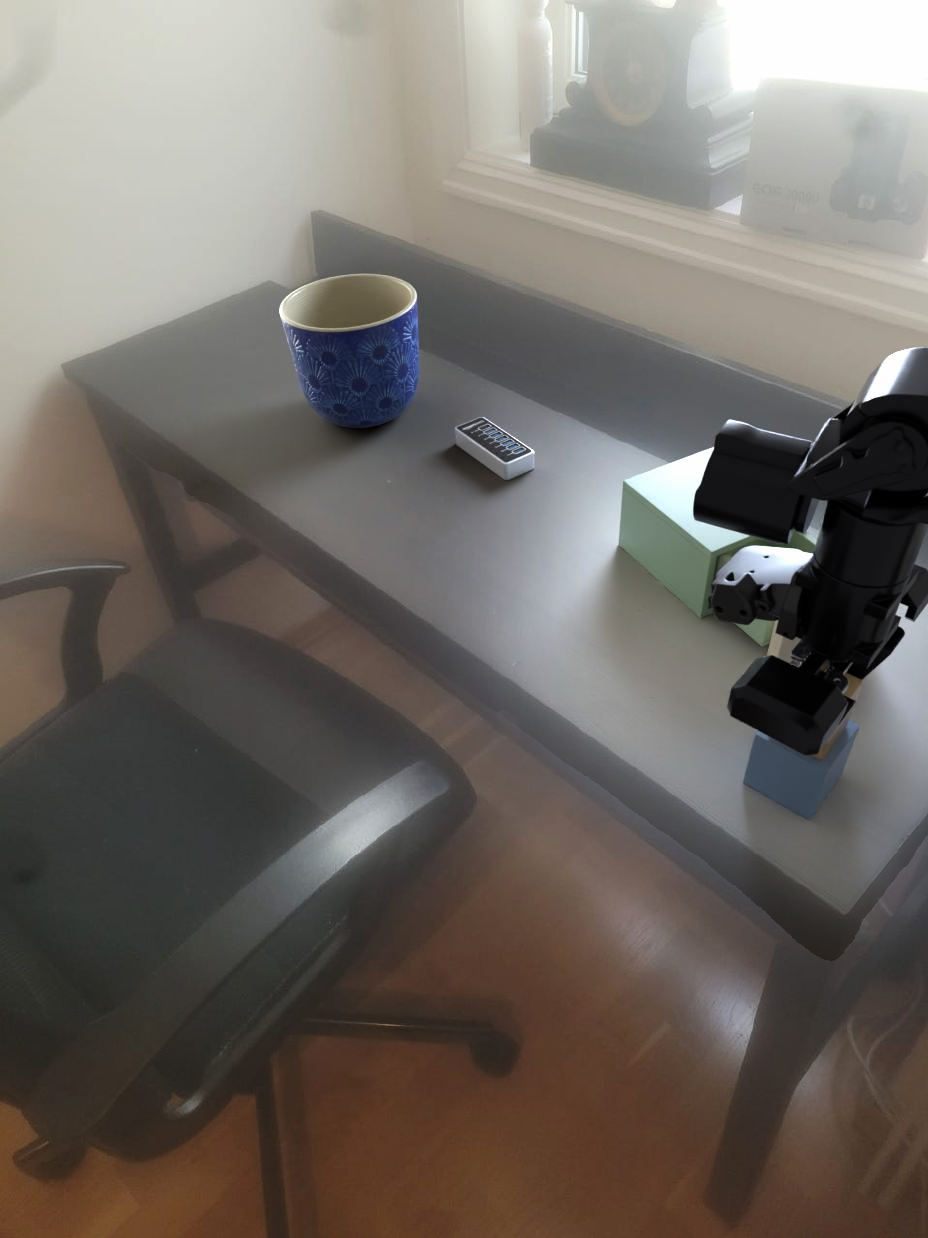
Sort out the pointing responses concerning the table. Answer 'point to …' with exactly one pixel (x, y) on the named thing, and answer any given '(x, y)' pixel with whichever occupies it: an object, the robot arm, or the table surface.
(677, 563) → the cabinet
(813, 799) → the block
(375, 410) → the planter
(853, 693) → the block
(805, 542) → the drawer
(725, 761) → the table surface
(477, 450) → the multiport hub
